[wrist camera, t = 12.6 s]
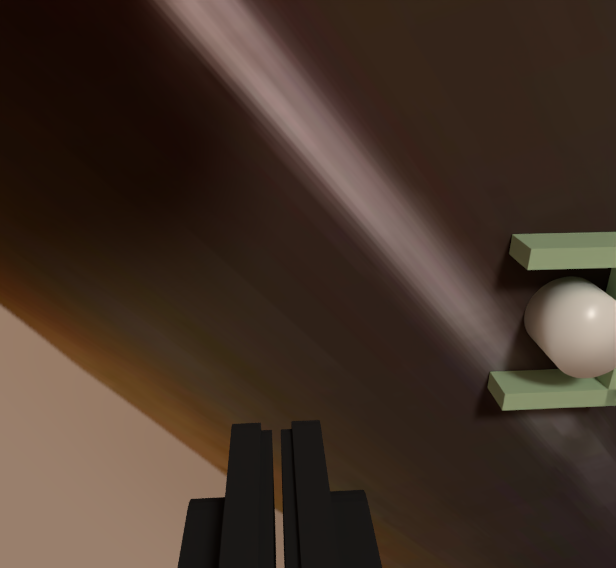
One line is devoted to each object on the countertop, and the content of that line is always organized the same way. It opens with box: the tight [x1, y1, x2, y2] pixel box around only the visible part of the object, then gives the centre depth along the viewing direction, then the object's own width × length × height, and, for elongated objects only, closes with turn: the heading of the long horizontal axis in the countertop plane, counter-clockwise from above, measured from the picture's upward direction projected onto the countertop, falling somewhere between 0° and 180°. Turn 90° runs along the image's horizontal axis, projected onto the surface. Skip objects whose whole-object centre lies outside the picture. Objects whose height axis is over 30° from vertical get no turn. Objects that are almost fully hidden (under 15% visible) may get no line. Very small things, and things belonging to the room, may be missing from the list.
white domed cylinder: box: [524, 276, 616, 378], centre depth 39 cm, size 6×6×4 cm
